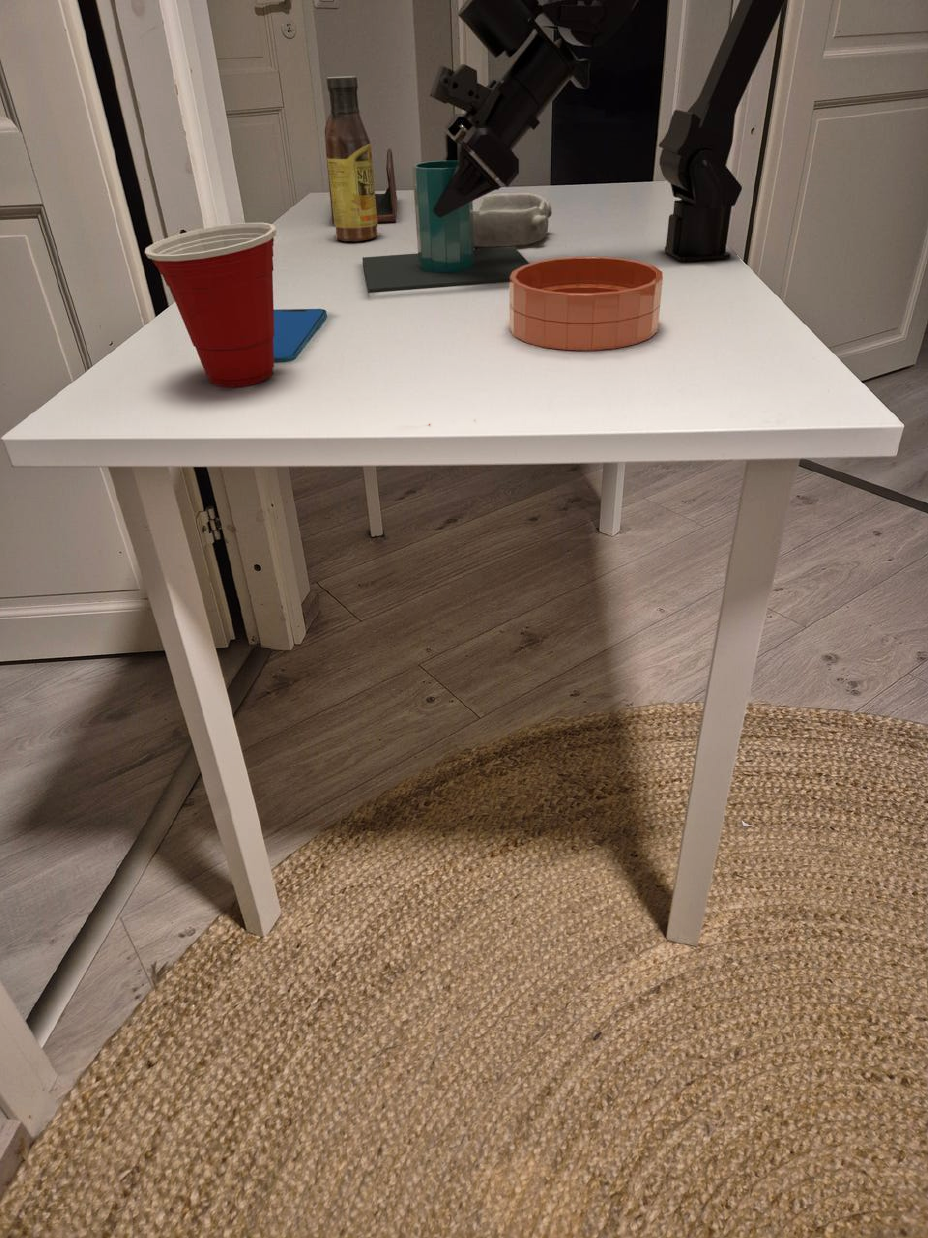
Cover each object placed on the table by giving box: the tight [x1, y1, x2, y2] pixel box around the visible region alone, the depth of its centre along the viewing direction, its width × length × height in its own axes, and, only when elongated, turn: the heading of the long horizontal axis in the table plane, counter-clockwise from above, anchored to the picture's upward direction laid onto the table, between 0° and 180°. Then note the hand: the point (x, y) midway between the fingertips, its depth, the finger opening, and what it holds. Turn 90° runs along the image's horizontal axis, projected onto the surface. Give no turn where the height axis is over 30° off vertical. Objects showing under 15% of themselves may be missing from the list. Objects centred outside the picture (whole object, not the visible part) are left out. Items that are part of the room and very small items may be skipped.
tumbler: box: [411, 159, 475, 273], centre depth 98 cm, size 7×7×11 cm
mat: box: [361, 245, 530, 298], centre depth 101 cm, size 20×16×1 cm
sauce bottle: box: [325, 75, 378, 242], centre depth 115 cm, size 6×6×20 cm
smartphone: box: [273, 308, 328, 363], centre depth 84 cm, size 7×1×15 cm
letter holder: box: [324, 114, 398, 227], centre depth 133 cm, size 10×20×14 cm, turn 3°
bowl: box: [508, 256, 664, 352], centre depth 79 cm, size 14×14×6 cm
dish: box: [473, 192, 553, 248], centre depth 115 cm, size 14×14×5 cm
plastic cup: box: [144, 222, 277, 388], centre depth 71 cm, size 11×11×12 cm
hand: (431, 208), depth 97 cm, fingers open, 8 cm apart
